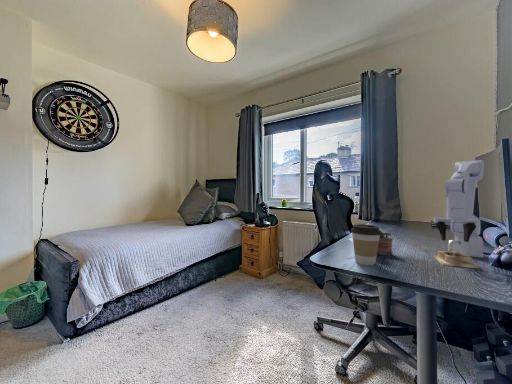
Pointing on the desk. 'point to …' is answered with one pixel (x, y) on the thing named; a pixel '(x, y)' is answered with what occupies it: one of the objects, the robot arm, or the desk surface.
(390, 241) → the hip flask
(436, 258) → the dock socket
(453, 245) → the spigot peg
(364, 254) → the coffee cup
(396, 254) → the desk surface
